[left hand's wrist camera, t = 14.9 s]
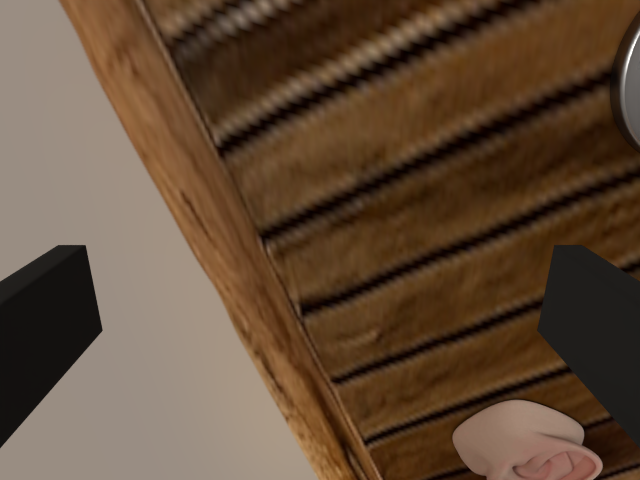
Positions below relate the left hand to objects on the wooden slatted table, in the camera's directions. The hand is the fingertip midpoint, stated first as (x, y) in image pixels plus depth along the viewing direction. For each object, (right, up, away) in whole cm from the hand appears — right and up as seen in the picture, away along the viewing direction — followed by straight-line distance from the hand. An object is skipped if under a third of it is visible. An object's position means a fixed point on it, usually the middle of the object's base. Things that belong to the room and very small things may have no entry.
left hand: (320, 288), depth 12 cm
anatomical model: (+21, -20, +35) cm, 46 cm away
